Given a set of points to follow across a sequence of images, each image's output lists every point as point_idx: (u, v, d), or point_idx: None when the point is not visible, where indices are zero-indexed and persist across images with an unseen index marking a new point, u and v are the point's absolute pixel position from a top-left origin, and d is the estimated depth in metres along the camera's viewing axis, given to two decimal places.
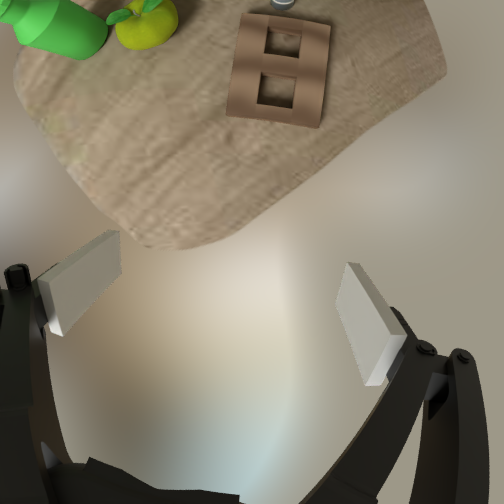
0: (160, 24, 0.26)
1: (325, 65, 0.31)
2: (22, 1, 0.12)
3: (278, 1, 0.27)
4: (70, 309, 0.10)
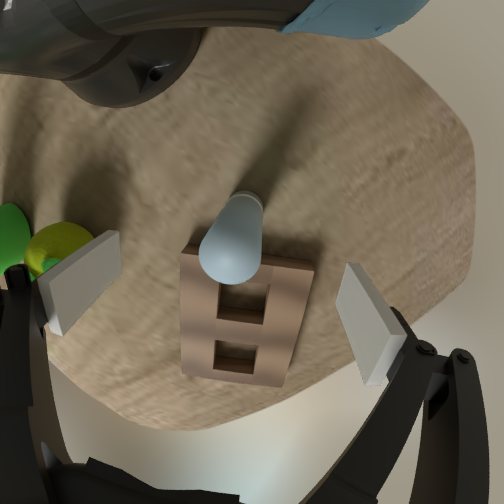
0: None
1: (297, 330, 0.29)
2: None
3: None
4: (70, 309, 0.10)
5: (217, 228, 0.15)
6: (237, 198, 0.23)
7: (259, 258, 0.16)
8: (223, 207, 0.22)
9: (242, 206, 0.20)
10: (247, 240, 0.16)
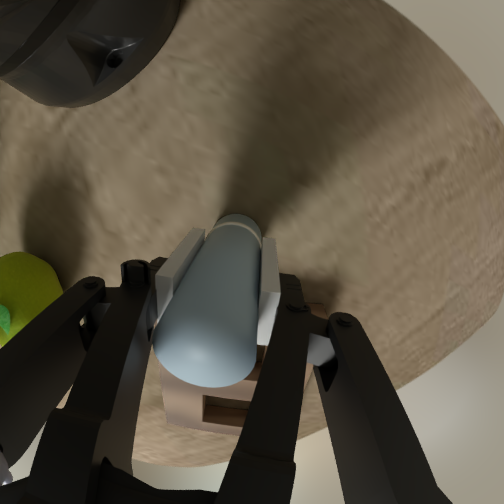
0: None
1: None
2: None
3: None
4: None
5: (177, 311, 0.08)
6: (223, 230, 0.16)
7: (253, 357, 0.09)
8: (203, 244, 0.15)
9: (228, 249, 0.13)
10: (231, 332, 0.08)
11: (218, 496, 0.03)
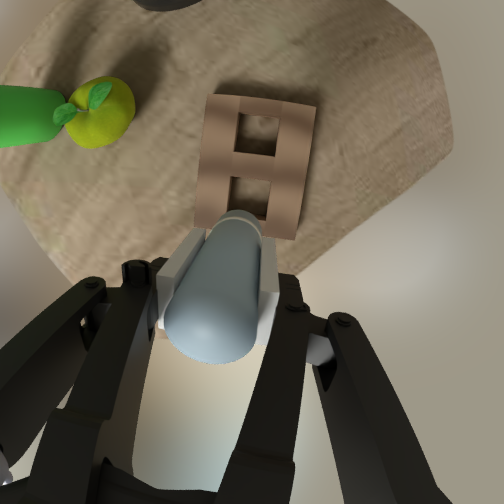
0: (111, 124, 0.26)
1: (306, 164, 0.32)
2: None
3: None
4: None
5: (187, 291, 0.10)
6: (226, 224, 0.17)
7: (254, 334, 0.10)
8: (207, 237, 0.17)
9: (232, 240, 0.14)
10: (235, 309, 0.10)
11: (218, 496, 0.03)
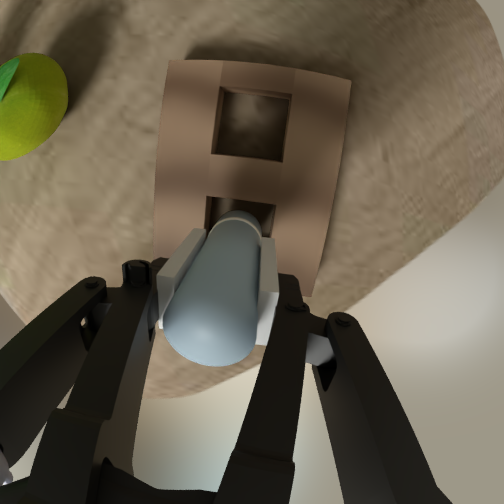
0: (21, 122, 0.13)
1: (335, 176, 0.19)
2: None
3: None
4: None
5: (186, 293, 0.09)
6: (226, 225, 0.17)
7: (254, 336, 0.10)
8: (207, 238, 0.16)
9: (231, 241, 0.14)
10: (234, 311, 0.10)
11: (217, 496, 0.03)
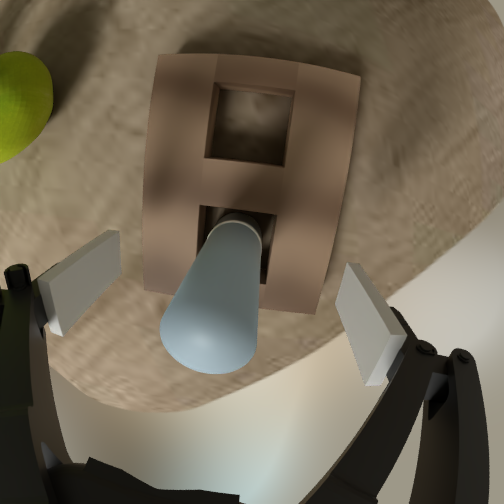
0: (0, 126, 0.11)
1: (342, 183, 0.17)
2: None
3: None
4: (70, 309, 0.10)
5: (184, 300, 0.09)
6: (225, 228, 0.17)
7: (254, 344, 0.10)
8: (206, 241, 0.16)
9: (230, 245, 0.14)
10: (234, 319, 0.09)
11: None
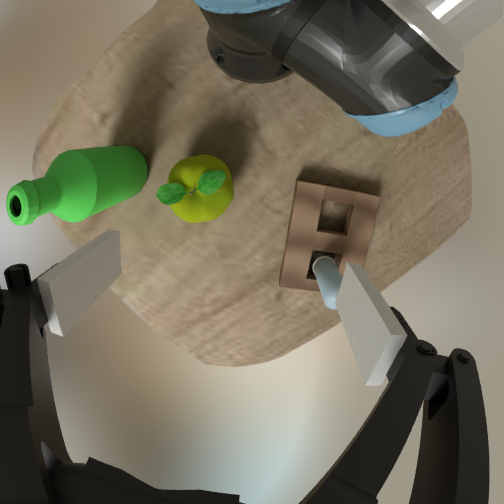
0: (220, 208, 0.36)
1: (368, 241, 0.41)
2: (50, 192, 0.22)
3: None
4: (70, 309, 0.10)
5: (334, 286, 0.34)
6: (325, 260, 0.41)
7: None
8: (318, 266, 0.41)
9: (333, 268, 0.39)
10: None
11: None
